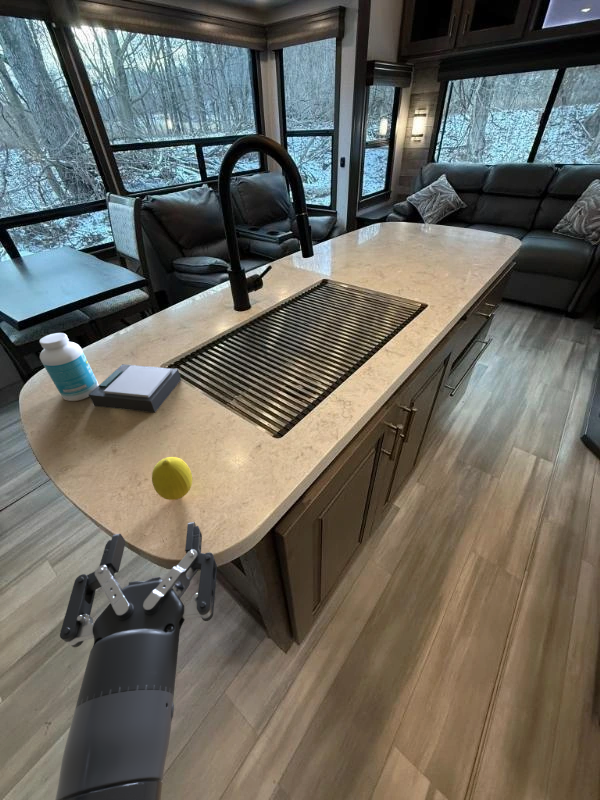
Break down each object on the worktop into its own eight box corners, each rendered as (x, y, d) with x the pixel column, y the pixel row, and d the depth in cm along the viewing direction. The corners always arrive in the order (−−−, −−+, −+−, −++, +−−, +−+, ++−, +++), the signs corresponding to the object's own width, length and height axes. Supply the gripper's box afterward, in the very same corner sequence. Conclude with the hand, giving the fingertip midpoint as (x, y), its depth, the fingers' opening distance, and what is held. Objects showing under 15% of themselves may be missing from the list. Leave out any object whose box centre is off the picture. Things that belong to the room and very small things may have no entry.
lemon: (203, 485, 54) (193, 451, 49) (183, 514, 50) (169, 480, 45) (174, 477, 55) (161, 443, 50) (152, 504, 51) (136, 470, 46)
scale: (94, 406, 70) (87, 392, 68) (126, 374, 79) (121, 361, 77) (155, 412, 68) (149, 399, 66) (181, 379, 77) (177, 366, 75)
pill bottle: (106, 389, 75) (81, 335, 67) (74, 406, 70) (43, 350, 62) (88, 379, 78) (61, 326, 70) (56, 395, 73) (23, 340, 65)
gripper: (203, 677, 26) (210, 503, 39) (6, 722, 24) (80, 524, 37) (219, 699, 31) (221, 537, 43) (54, 737, 29) (106, 557, 42)
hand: (156, 531), depth 40 cm, fingers open, 8 cm apart
